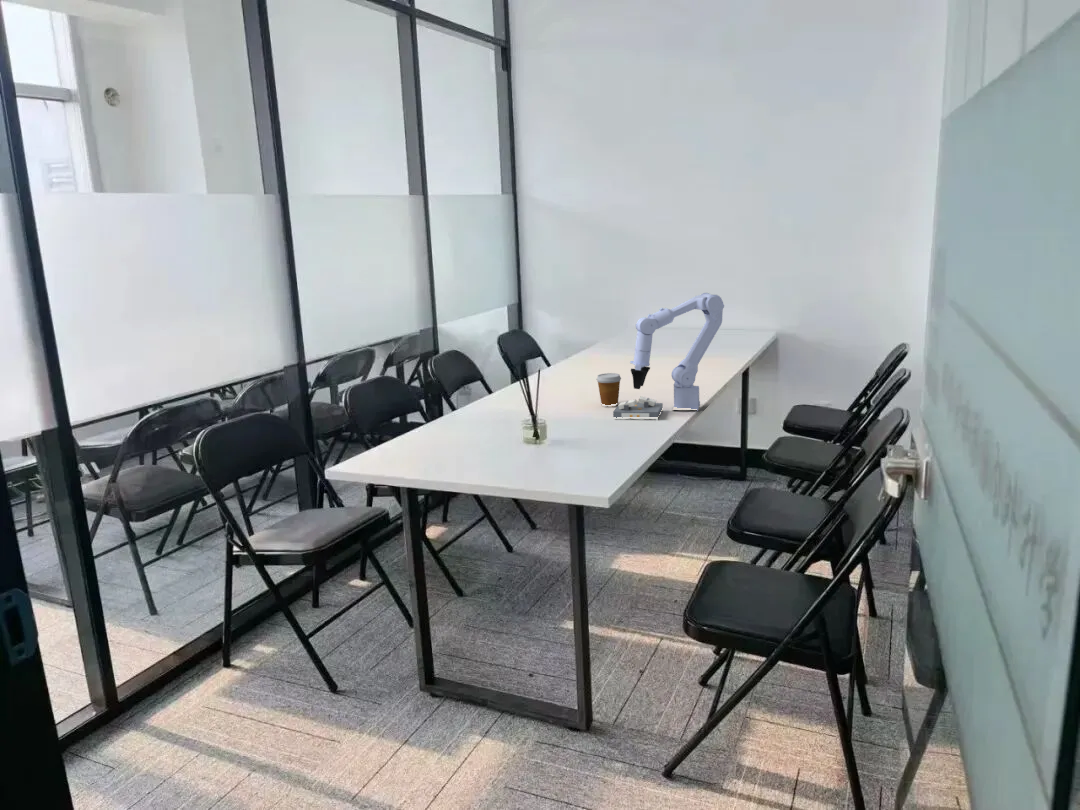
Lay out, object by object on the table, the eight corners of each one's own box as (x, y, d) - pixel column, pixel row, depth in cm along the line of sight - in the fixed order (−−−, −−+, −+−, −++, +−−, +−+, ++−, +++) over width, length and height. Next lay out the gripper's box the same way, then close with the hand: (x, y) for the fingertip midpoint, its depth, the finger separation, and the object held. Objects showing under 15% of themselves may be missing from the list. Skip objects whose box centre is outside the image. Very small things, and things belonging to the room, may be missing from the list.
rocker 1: (636, 402, 287) (635, 398, 287) (635, 405, 284) (633, 401, 283) (621, 406, 289) (619, 402, 289) (619, 409, 286) (617, 405, 285)
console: (662, 410, 293) (662, 397, 292) (657, 420, 280) (657, 406, 279) (620, 410, 297) (619, 397, 296) (613, 419, 284) (612, 406, 283)
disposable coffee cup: (595, 408, 304) (593, 377, 301) (600, 402, 312) (599, 372, 310) (619, 408, 301) (618, 377, 298) (624, 402, 309) (623, 372, 307)
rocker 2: (655, 404, 291) (656, 399, 290) (654, 406, 287) (655, 402, 286) (639, 399, 292) (640, 395, 291) (638, 402, 288) (639, 398, 288)
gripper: (635, 347, 294) (630, 382, 297) (628, 351, 281) (624, 388, 283) (653, 349, 293) (649, 385, 295) (648, 353, 279) (643, 391, 282)
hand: (638, 387), depth 289 cm, fingers open, 7 cm apart
